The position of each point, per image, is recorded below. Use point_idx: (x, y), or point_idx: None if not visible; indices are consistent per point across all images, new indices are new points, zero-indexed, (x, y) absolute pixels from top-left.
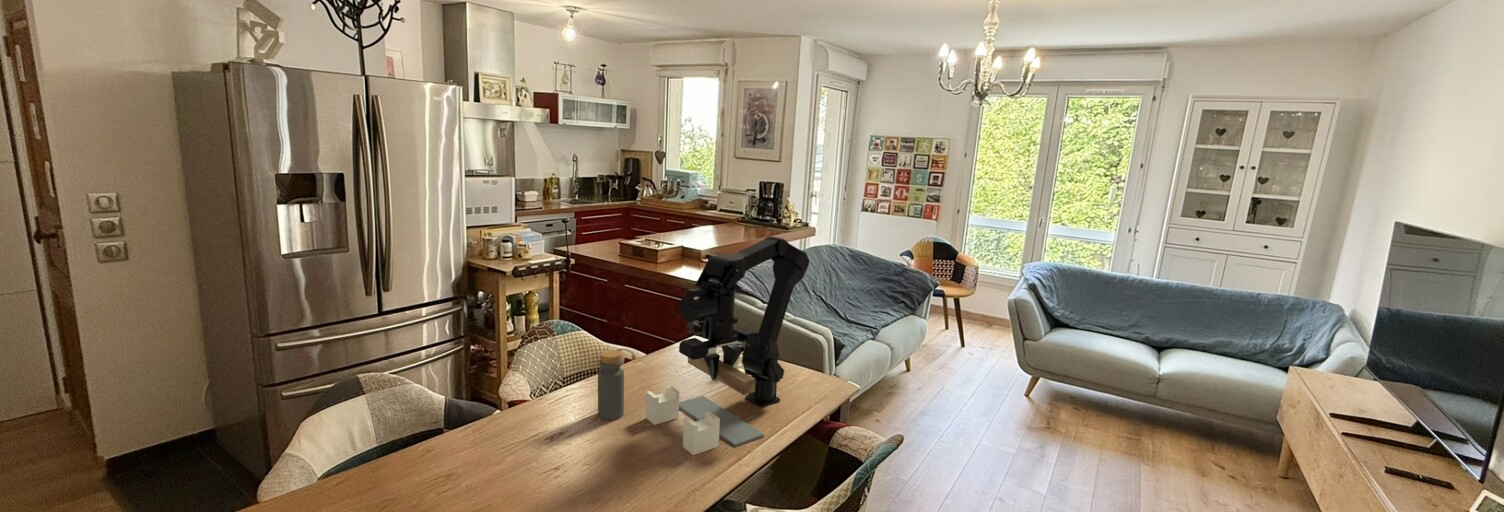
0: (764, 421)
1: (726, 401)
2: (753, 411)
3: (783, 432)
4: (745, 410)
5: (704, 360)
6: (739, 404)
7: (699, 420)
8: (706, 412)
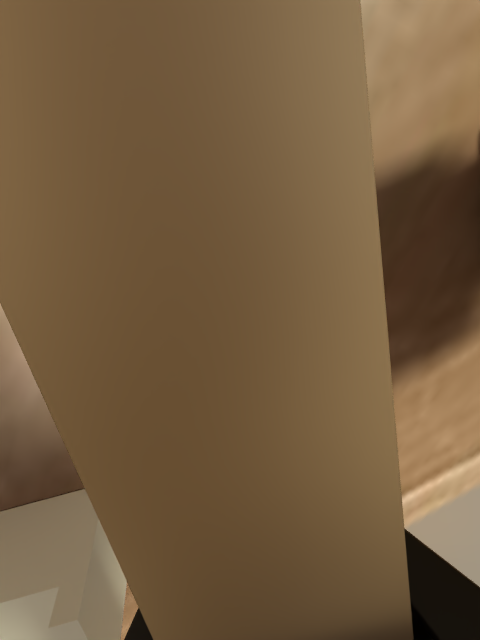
0: (414, 406)
1: (371, 118)
2: (432, 299)
3: (423, 501)
4: (403, 275)
5: (113, 543)
6: (417, 191)
7: (21, 597)
8: (56, 632)
